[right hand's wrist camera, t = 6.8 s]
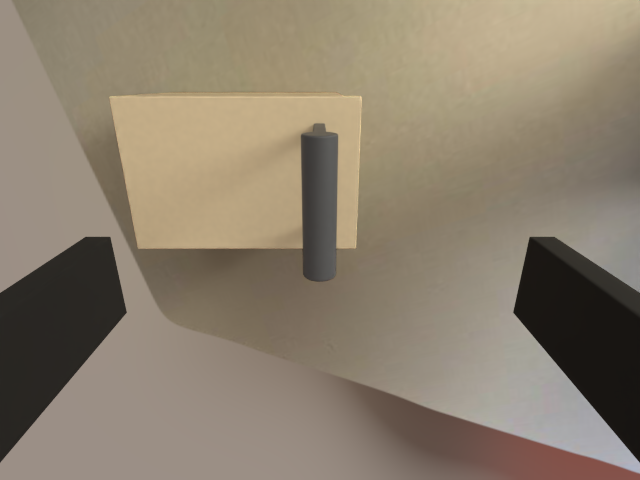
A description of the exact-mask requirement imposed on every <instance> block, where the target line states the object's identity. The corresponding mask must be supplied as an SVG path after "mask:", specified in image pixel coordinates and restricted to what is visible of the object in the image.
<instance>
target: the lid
mask: <svg viewBox="0 0 640 480" xmlns="http://www.w3.org/2000/svg"><path fill="white" fill-rule="evenodd" d="M109 100H110V105H111V111H112V116H113V121H114V126H115V132H116V137H117V142H118V147H119V153H120V158H121V163H122V168H123V174H124V179H125V184H126V189H127V194H128V200H129V205H130V210H131V215H132V221H133V226H134V231H135V236H136V242H137V247H138V249H303V275H304V277H305V278H307V279H309V280H311V281H319V282H320V281H328V280H331V279H332V278H334V277H335V275H336V249H355V248H356V237H357V211H358V184H359V158H360V131H361V105H362V97H361V96H110V97H109Z"/></svg>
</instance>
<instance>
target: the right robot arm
mask: <svg viewBox="0 0 640 480" xmlns="http://www.w3.org/2000/svg"><path fill="white" fill-rule="evenodd" d="M126 313H127V312H126V307H125V303H124V298H123V294H122V289H121V285H120V280H119V275H118V271H117V266H116V261H115V257H114V252H113V248H112V243H111V238H110V237H85V238H83V239H82V240H80V241H79V242H77V243H76V244H74V245H73V246H71V247H70V248H68V249H67V250H65V251H64V252H62V253H61V254H59V255H58V256H56V257H54V258H53V259H51V260H50V261H48V262H47V263H45V264H44V265H42V266H41V267H39V268H38V269H36V270H35V271H33V272H32V273H30V274H29V275H27V276H26V277H24V278H22V279H21V280H19V281H18V282H16V283H15V284H13V285H12V286H10V287H9V288H7V289H6V290H4V291H3V292H1V293H0V462H1V461H2V460H3V459H4V457H5V456H6V455H7V454H8V453H9V451H10V450H11V449H12V448H13V447H14V446H15V444H16V443H17V442H18V441H19V440H20V438H21V437H22V436H23V435H24V434H25V432H26V431H27V430H28V429H29V428H30V427H31V425H32V424H33V423H34V422H35V421H36V419H37V418H38V417H39V416H40V415H41V413H42V412H43V411H44V410H45V409H46V408H47V406H48V405H49V404H50V403H51V402H52V400H53V399H54V398H55V397H56V396H57V394H58V393H59V392H60V391H61V390H62V389H63V387H64V386H65V385H66V384H67V383H68V381H69V380H70V379H71V378H72V377H73V376H74V374H75V373H76V372H77V371H78V370H79V368H80V367H81V366H82V365H83V364H84V362H85V361H86V360H87V359H88V358H89V356H90V355H91V354H92V353H93V352H94V351H95V349H96V348H97V347H98V346H99V345H100V343H101V342H102V341H103V340H104V339H105V338H106V336H107V335H108V334H109V333H110V332H111V330H112V329H113V328H114V327H115V326H116V324H117V323H118V322H119V321H120V320H121V319H122V317H123V316H124V315H125V314H126ZM513 313H514V314H515V315H516V316H517V317H518V319H519V320H520V321H521V322H522V323H523V325H524V326H525V327H526V328H527V329H528V330H529V332H530V333H531V334H532V335H533V336H534V338H535V339H536V340H537V341H538V342H539V344H540V345H541V346H542V347H543V348H544V349H545V351H546V352H547V353H548V354H549V355H550V357H551V358H552V359H553V360H554V361H555V362H556V364H557V365H558V366H559V367H560V368H561V370H562V371H563V372H564V373H565V374H566V376H567V377H568V378H569V379H570V380H571V381H572V383H573V384H574V385H575V386H576V387H577V389H578V390H579V391H580V392H581V393H582V395H583V396H584V397H585V398H586V399H587V400H588V402H589V403H590V404H591V405H592V406H593V408H594V409H595V410H596V411H597V412H598V414H599V415H600V416H601V417H602V418H603V419H604V421H605V422H606V423H607V424H608V425H609V427H610V428H611V429H612V430H613V431H614V432H615V434H616V435H617V436H618V437H619V438H620V440H621V441H622V442H623V443H624V444H625V446H626V447H627V448H628V449H629V450H630V451H631V453H632V454H633V455H634V456H635V457H636V459H637V460H638V461H639V462H640V293H639V292H637V291H636V290H634V289H633V288H631V287H630V286H628V285H627V284H625V283H624V282H622V281H621V280H619V279H618V278H616V277H615V276H613V275H611V274H610V273H608V272H607V271H605V270H604V269H602V268H601V267H599V266H598V265H596V264H595V263H593V262H592V261H590V260H589V259H587V258H586V257H584V256H583V255H581V254H579V253H578V252H576V251H575V250H573V249H572V248H570V247H569V246H567V245H566V244H564V243H563V242H561V241H560V240H558V239H557V238H555V237H530V238H529V243H528V247H527V252H526V257H525V261H524V266H523V270H522V275H521V280H520V284H519V289H518V294H517V298H516V303H515V307H514V312H513Z"/></svg>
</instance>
